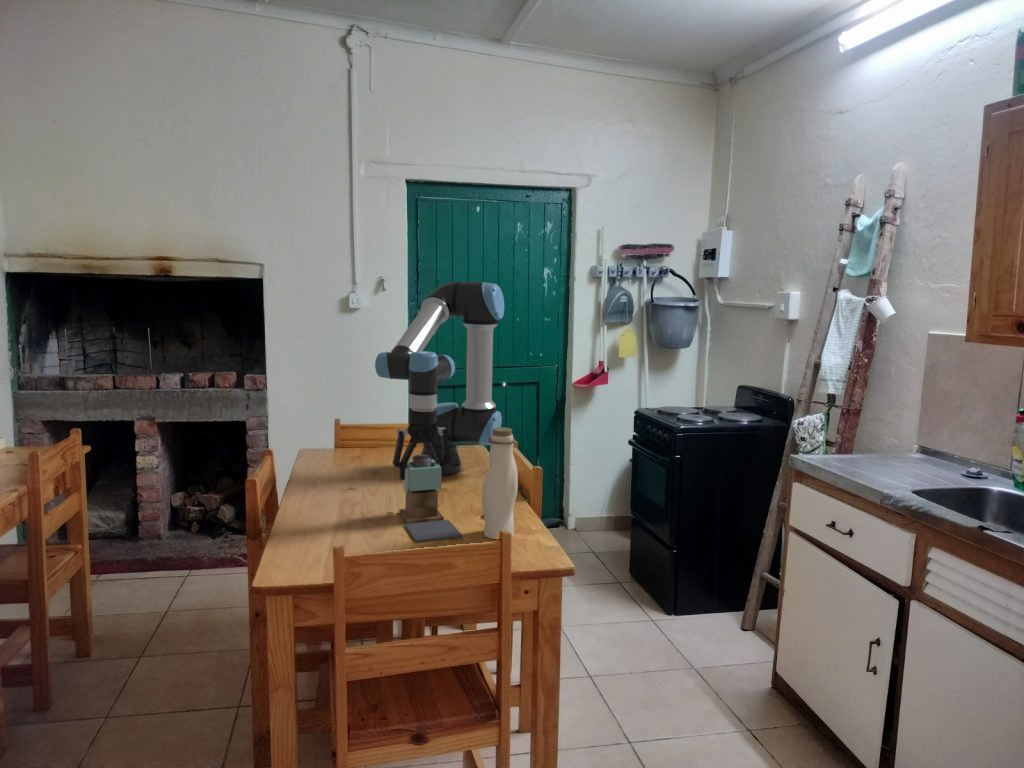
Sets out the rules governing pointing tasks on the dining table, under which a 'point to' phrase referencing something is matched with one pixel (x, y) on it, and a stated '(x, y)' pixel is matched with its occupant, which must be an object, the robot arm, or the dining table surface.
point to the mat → (432, 531)
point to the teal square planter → (424, 477)
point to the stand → (421, 499)
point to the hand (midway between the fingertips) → (421, 489)
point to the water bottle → (500, 484)
